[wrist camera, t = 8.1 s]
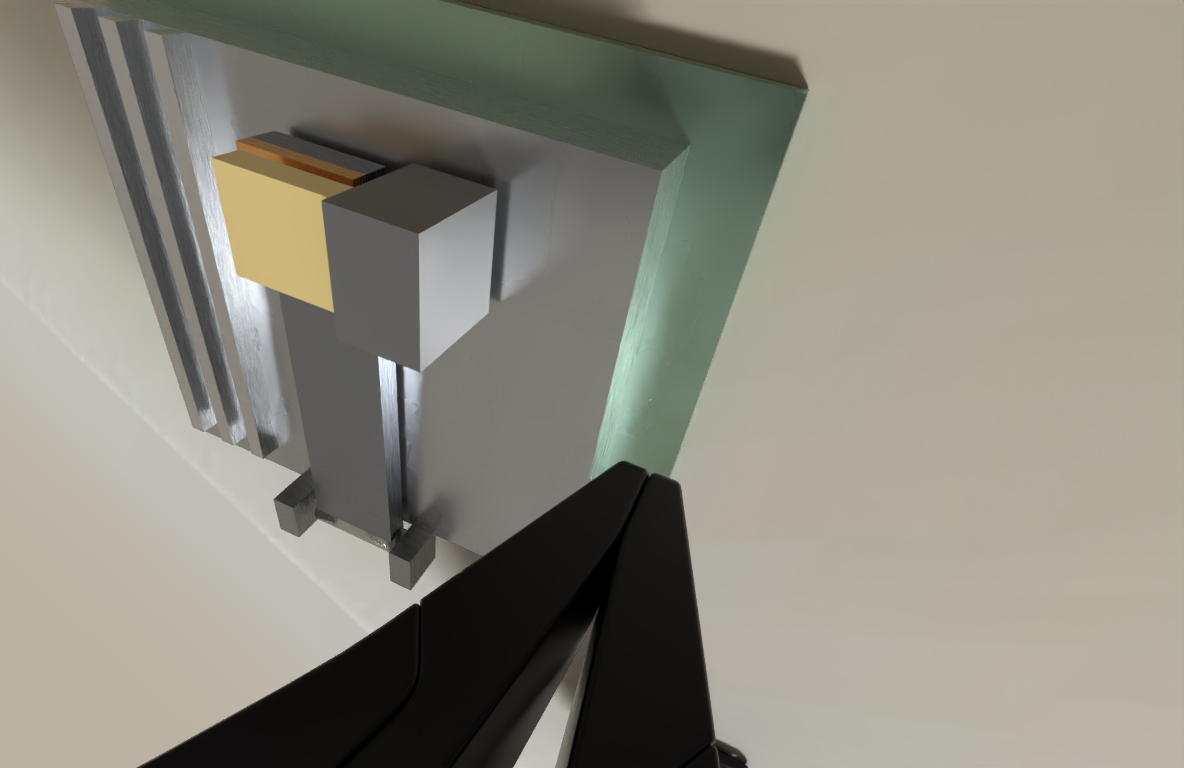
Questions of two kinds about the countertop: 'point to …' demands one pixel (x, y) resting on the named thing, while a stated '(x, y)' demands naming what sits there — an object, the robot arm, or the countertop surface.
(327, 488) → the grey and orange bar
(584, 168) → the heatsink
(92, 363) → the countertop surface
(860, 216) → the countertop surface
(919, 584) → the countertop surface
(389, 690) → the robot arm
